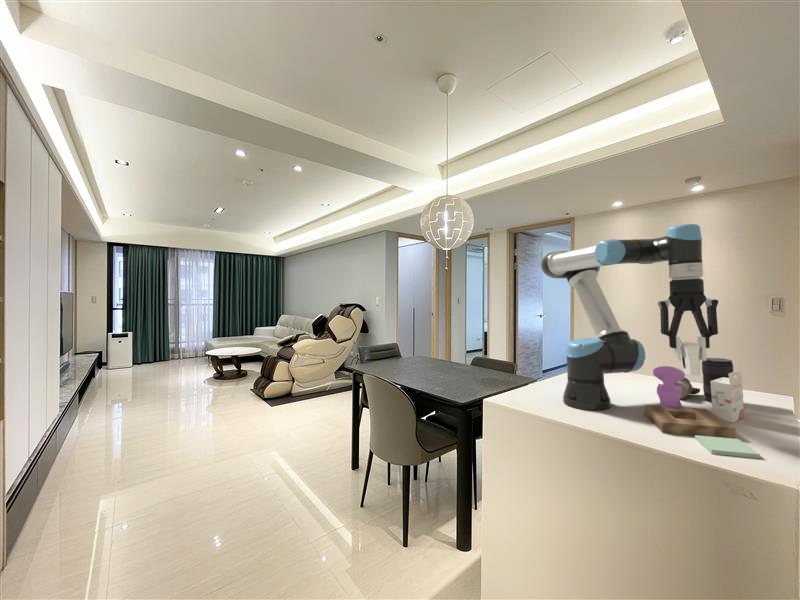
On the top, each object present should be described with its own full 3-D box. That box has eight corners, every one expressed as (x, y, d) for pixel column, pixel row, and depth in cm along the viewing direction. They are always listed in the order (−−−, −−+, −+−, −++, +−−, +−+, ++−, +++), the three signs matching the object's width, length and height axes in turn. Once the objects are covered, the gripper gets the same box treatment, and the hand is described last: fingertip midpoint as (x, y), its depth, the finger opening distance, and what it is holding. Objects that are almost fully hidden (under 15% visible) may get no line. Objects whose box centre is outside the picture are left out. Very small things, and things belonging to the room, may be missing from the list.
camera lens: (721, 398, 123) (719, 357, 123) (741, 405, 115) (739, 361, 115) (697, 398, 124) (695, 357, 124) (715, 405, 116) (713, 361, 116)
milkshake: (674, 373, 100) (672, 339, 100) (691, 372, 100) (689, 338, 100) (689, 376, 95) (687, 341, 95) (706, 375, 96) (704, 339, 96)
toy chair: (687, 408, 115) (685, 364, 115) (685, 415, 108) (684, 368, 108) (656, 403, 120) (654, 361, 120) (653, 410, 114) (651, 366, 114)
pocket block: (662, 432, 96) (662, 422, 96) (644, 413, 111) (644, 404, 111) (735, 439, 90) (734, 427, 90) (706, 418, 105) (706, 408, 105)
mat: (711, 453, 83) (711, 449, 83) (695, 438, 91) (694, 435, 91) (760, 458, 80) (759, 454, 80) (738, 442, 88) (738, 439, 88)
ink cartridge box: (723, 413, 109) (721, 367, 109) (744, 417, 105) (742, 369, 104) (711, 418, 105) (709, 371, 105) (732, 423, 101) (730, 373, 101)
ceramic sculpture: (655, 373, 128) (667, 369, 137) (655, 396, 128) (667, 391, 137) (691, 378, 119) (702, 374, 128) (691, 403, 119) (702, 397, 128)
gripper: (652, 280, 98) (656, 361, 97) (733, 276, 91) (738, 362, 91) (644, 281, 105) (647, 356, 104) (718, 277, 98) (722, 357, 98)
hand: (689, 359), depth 98 cm, fingers closed on milkshake, 5 cm apart
